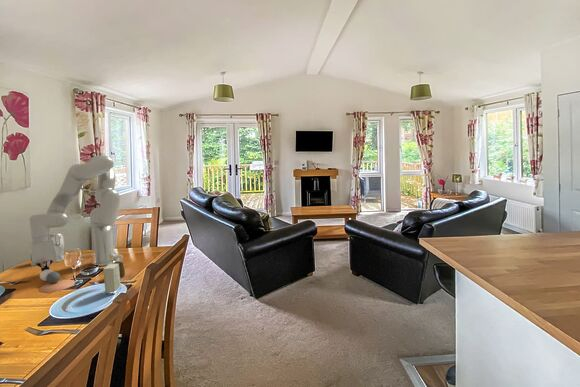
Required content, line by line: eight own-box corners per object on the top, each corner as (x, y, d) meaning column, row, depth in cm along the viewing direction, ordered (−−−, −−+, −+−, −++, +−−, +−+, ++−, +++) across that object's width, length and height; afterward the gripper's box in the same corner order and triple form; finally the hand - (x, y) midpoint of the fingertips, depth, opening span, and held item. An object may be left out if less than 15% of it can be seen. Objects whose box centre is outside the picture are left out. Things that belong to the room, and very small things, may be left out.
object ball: (61, 279, 166) (62, 269, 164) (57, 286, 161) (57, 276, 159) (49, 278, 164) (48, 269, 162) (44, 285, 159) (44, 276, 157)
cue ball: (55, 267, 167) (57, 277, 167) (46, 269, 169) (49, 280, 168) (44, 269, 162) (46, 281, 161) (36, 272, 163) (38, 283, 163)
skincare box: (111, 289, 154) (109, 263, 152) (121, 288, 154) (119, 263, 153) (105, 295, 148) (102, 268, 146) (115, 294, 148) (113, 268, 146)
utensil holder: (122, 278, 166) (120, 255, 164) (109, 279, 165) (106, 255, 164) (127, 274, 172) (125, 251, 170) (114, 274, 171) (112, 252, 170)
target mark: (79, 278, 167) (79, 278, 167) (69, 290, 154) (69, 289, 154) (47, 282, 163) (46, 281, 163) (33, 294, 150) (33, 293, 150)
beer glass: (58, 262, 193) (55, 236, 190) (48, 261, 194) (45, 236, 192) (68, 258, 199) (66, 233, 197) (58, 257, 201) (56, 233, 199)
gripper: (56, 234, 175) (60, 268, 178) (20, 241, 164) (25, 277, 166) (61, 237, 170) (65, 271, 173) (24, 243, 159) (29, 281, 161)
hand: (46, 274), depth 170 cm, fingers closed
